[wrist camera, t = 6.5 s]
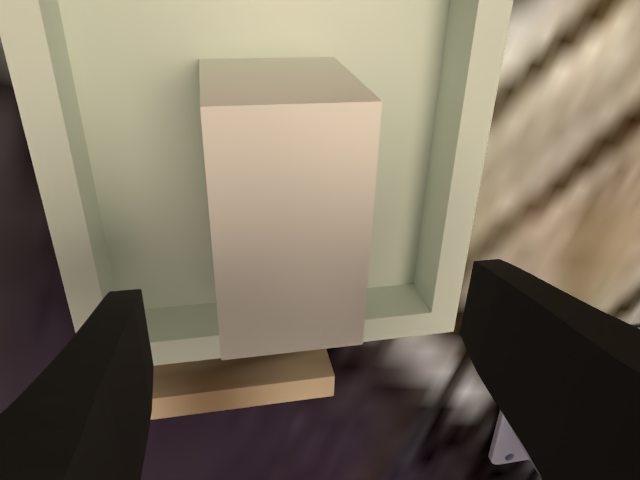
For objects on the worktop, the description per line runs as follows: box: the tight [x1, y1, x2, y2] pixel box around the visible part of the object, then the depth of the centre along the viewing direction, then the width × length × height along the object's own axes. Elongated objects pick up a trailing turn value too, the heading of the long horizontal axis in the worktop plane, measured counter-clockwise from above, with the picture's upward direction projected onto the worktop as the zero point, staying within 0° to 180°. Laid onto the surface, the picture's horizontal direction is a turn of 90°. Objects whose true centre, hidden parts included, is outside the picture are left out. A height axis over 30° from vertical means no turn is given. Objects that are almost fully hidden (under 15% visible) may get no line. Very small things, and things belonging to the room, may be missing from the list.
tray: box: [0, 0, 513, 366], centre depth 17 cm, size 13×13×2 cm
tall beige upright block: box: [199, 57, 382, 360], centre depth 16 cm, size 4×8×5 cm, turn 179°
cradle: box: [150, 349, 335, 420], centre depth 23 cm, size 8×11×2 cm
